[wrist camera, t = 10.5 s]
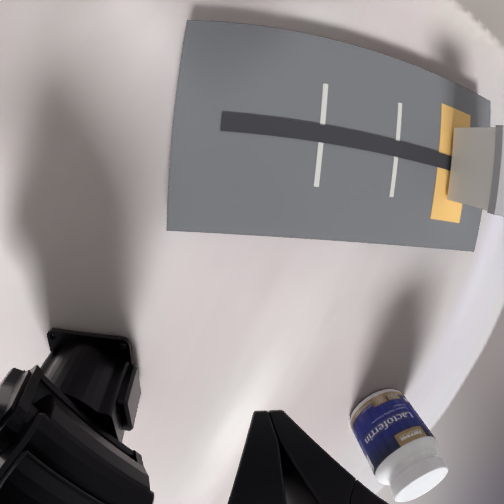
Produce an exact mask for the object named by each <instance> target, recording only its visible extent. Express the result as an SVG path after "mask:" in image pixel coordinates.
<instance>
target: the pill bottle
mask: <svg viewBox="0 0 504 504" xmlns="http://www.w3.org/2000/svg"><path fill="white" fill-rule="evenodd" d="M350 425H351V428H352V431H353V433H354V434H355V436H356V438H357V440H358V442H359V444H360V446H361V448H362V451H363V453H364V454H365V456H366V458H367V460H368V463H369V465H370V467H371V469H372V471H373V473H374V475H375V477H376V478H377V480H378V481H379V482H381V483H382V484H386V485H391V488H390V492H391V494H392V496H393V498H394V499H395V501H396V502H406V501H410V500H413V499H415V498H417V497H419V496H421V495H423V494H425V493H426V492H428V491H429V490H431V489H432V488H433V487H435V486H436V485H437V484H438V483H439V482H440V481H441V480H442V479H443V478H444V477H445V476H446V474H447V472H448V468H447V466H446V464H445V462H444V461H443V459H442V458H440V457H436V454H437V451H438V444H437V441H436V439H435V437H434V436H433V435H432V433H431V432H430V430H429V429H428V428H427V426H426V425H425V424H424V422H423V421H422V420H421V418H420V417H419V415H418V414H417V413H416V411H415V410H414V409H413V407H412V406H411V404H410V403H409V402H408V400H407V399H406V398H405V396H404V395H403V394H402V393H401V392H400V391H398V390H395V389H385V390H381V391H378V392H375V393H373V394H371V395H370V396H368V397H367V398H365V399H364V400H363V401H362V402H360V403H359V404H358V405H357V407H356V408H355V409H354V411H353V412H352V415H351V418H350Z"/></svg>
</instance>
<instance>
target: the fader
mask: <svg viewBox="0 0 504 504" xmlns="http://www.w3.org/2000/svg"><path fill="white" fill-rule="evenodd" d="M447 200H451V201H455V202H458V203H462V204H466V205H470V206H473V207H477V208H480V209H484V210H487V211H488V213H491V214H494V215H498V216H503V217H504V126H503V125H496V127H467V128H454V136H453V150H452V161H451V171H450V179H449V187H448V195H447Z"/></svg>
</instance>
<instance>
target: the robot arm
mask: <svg viewBox="0 0 504 504" xmlns="http://www.w3.org/2000/svg"><path fill="white" fill-rule="evenodd" d="M52 334H53V335H55V337H54V336H53V335H52ZM47 338H48V342H49V346H50V351H51V353H50V354H49V356H48V357H47V359H46V360H45V362H44V363H43V365H42V366H41V368H40V367H39V366H38V365H36V366H34V367H33V368H32V369H31V370H28V371H25V370H24V371H22V370H19V369H16V368H13V369H11V370H10V371H9V373H8V374H7V375H6V377H5V378H4V379H3V381H2V382H1V384H0V504H153V502H154V493H153V492H152V491H150V484H149V476H148V474H147V472H146V470H145V468H144V466H143V462H142V457H141V455H140V454H139V453H137V452H136V451H135V450H133V451H132V450H131V449H130V448H128V447H127V446H125V445H124V444H123V443H122V440H123V435H124V431H125V430H127V431H130V430H132V429H133V427H134V422H135V417H136V412H137V408H138V403H139V399H140V394H141V389H140V382H139V374H138V368H137V366H136V365H134V364H133V360H132V351H131V343H130V341H129V339H127V338H126V337H121V336H111V335H101V334H92V333H84V332H76V331H69V330H62V329H55V328H51V329H50V330H49V331H48V333H47ZM121 343H124V344H125V345H126V346H123V345H121ZM355 480H356V478H354V477H353V476H352V475H351V474H350V473H349V472H348V471H346V470H345V469H344V468H343V467H342V466H341V465H340V464H339V463H338V462H336V461H335V460H334V459H333V458H332V457H331V456H330V455H329V454H328V453H327V452H325V451H324V450H323V449H322V448H321V447H320V446H319V445H318V444H317V443H316V442H315V441H314V440H313V439H312V438H311V437H309V436H308V435H307V434H306V433H305V432H304V431H303V430H302V429H301V428H300V427H299V426H298V425H297V424H296V423H295V422H294V421H293V420H292V419H291V418H290V417H289V416H288V415H287V414H286V413H285V412H284V411H282V410H270V411H254V413H253V416H252V420H251V424H250V427H249V431H248V435H247V438H246V442H245V446H244V449H243V453H242V456H241V460H240V464H239V467H238V471H237V474H236V478H235V481H234V484H233V488H232V491H231V495H230V497H229V501H228V504H388V503H387V502H385V501H384V500H382V499H381V498H379V497H378V496H377V495H375V494H374V493H373V492H371V491H370V490H369V489H368V488H366V487H365V486H364V485H363V484H362V483H360V482H359V481H358V480H356V481H355Z"/></svg>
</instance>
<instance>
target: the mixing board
mask: <svg viewBox="0 0 504 504" xmlns="http://www.w3.org/2000/svg"><path fill="white" fill-rule="evenodd" d="M467 127H490V101H489V100H487V99H486V98H484V97H482V96H480V95H478V94H476V93H474V92H472V91H470V90H468V89H466V88H464V87H462V86H460V85H458V84H456V83H454V82H452V81H450V80H448V79H445V78H443V77H441V76H439V75H437V74H434V73H432V72H430V71H427V70H425V69H422V68H420V67H417V66H415V65H412V64H410V63H407V62H404V61H402V60H399V59H396V58H393V57H390V56H387V55H385V54H382V53H378V52H375V51H372V50H369V49H366V48H362V47H359V46H356V45H352V44H348V43H345V42H341V41H337V40H333V39H329V38H325V37H320V36H316V35H311V34H306V33H301V32H296V31H291V30H285V29H279V28H273V27H266V26H259V25H251V24H242V23H231V22H219V21H201V20H187V24H186V30H185V36H184V42H183V48H182V55H181V62H180V69H179V77H178V85H177V93H176V102H175V111H174V121H173V131H172V142H171V155H170V169H169V185H168V205H167V231H185V232H204V233H222V234H240V235H256V236H273V237H289V238H304V239H319V240H333V241H348V242H361V243H375V244H388V245H401V246H413V247H426V248H438V249H450V250H461V251H472V252H474V249H475V245H476V240H477V235H478V230H479V225H480V219H481V213H482V209H480V208H477V207H473V206H470V205H466V204H462V203H458V202H455V201H451V200H447V195H448V187H449V179H450V171H451V161H452V150H453V136H454V128H467Z"/></svg>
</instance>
